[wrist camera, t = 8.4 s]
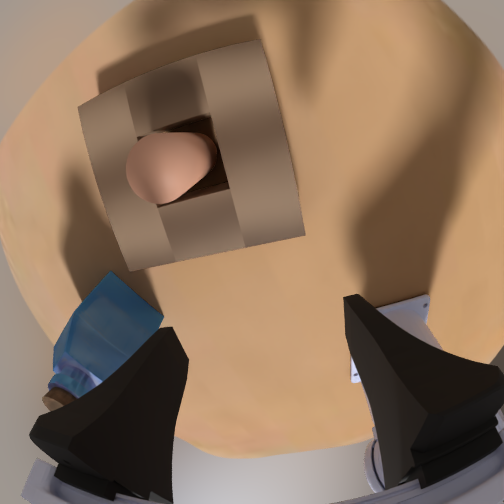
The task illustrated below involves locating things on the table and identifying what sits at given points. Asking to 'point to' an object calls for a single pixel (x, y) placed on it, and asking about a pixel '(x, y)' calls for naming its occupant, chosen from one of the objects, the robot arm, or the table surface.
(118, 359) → the perfume bottle
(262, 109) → the socket
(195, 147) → the peg
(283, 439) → the table surface
